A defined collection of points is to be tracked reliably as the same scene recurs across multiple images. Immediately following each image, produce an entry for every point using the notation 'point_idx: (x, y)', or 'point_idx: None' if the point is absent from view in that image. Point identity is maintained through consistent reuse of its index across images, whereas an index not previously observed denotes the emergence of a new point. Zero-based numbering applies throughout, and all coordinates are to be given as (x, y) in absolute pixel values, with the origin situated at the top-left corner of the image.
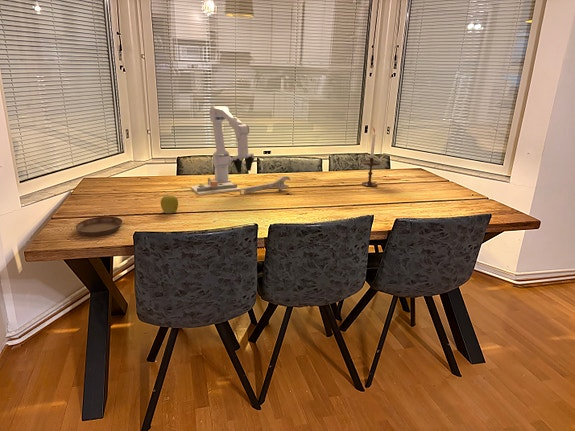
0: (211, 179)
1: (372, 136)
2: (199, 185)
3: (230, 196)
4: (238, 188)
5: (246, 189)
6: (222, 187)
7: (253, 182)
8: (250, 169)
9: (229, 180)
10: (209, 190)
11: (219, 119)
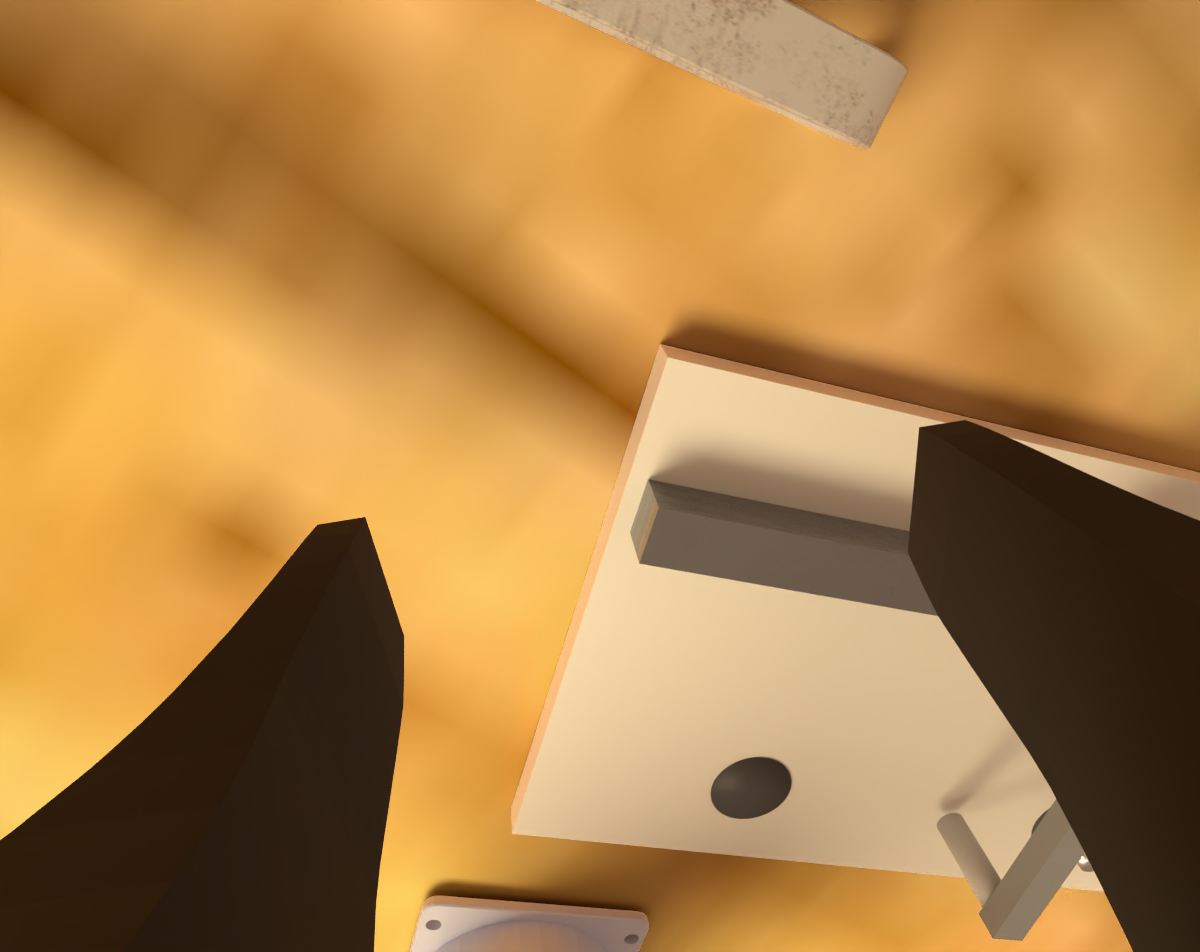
0: (1060, 842)
1: None
2: None
3: (1157, 64)
4: (689, 391)
5: (762, 9)
6: None
7: (32, 686)
8: (321, 544)
9: (431, 929)
10: None
11: None
